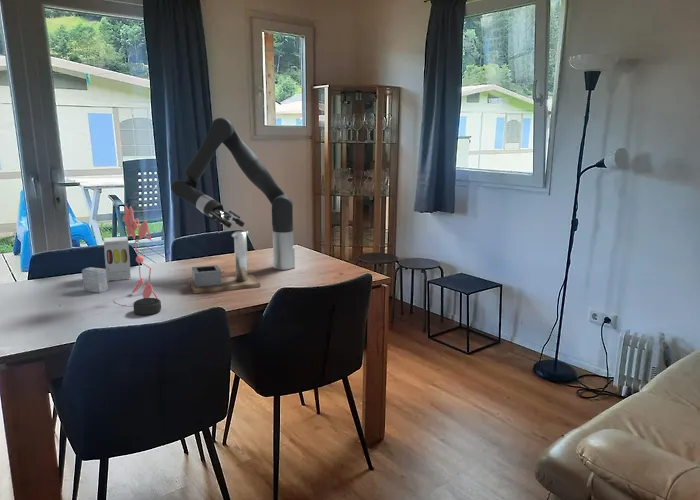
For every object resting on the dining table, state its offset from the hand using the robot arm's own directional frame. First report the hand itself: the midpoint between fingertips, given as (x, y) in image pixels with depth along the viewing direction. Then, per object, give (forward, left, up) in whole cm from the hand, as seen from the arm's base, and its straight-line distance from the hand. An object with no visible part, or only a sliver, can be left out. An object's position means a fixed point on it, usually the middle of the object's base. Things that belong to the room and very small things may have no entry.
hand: (237, 225), depth 220 cm
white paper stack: (+55, -1, -23) cm, 60 cm away
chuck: (+14, +9, -21) cm, 27 cm away
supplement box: (+47, -18, -23) cm, 56 cm away
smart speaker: (+37, +32, -23) cm, 54 cm away
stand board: (+7, +9, -23) cm, 26 cm away
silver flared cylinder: (0, +9, -21) cm, 23 cm away
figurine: (+41, +15, -23) cm, 50 cm away
